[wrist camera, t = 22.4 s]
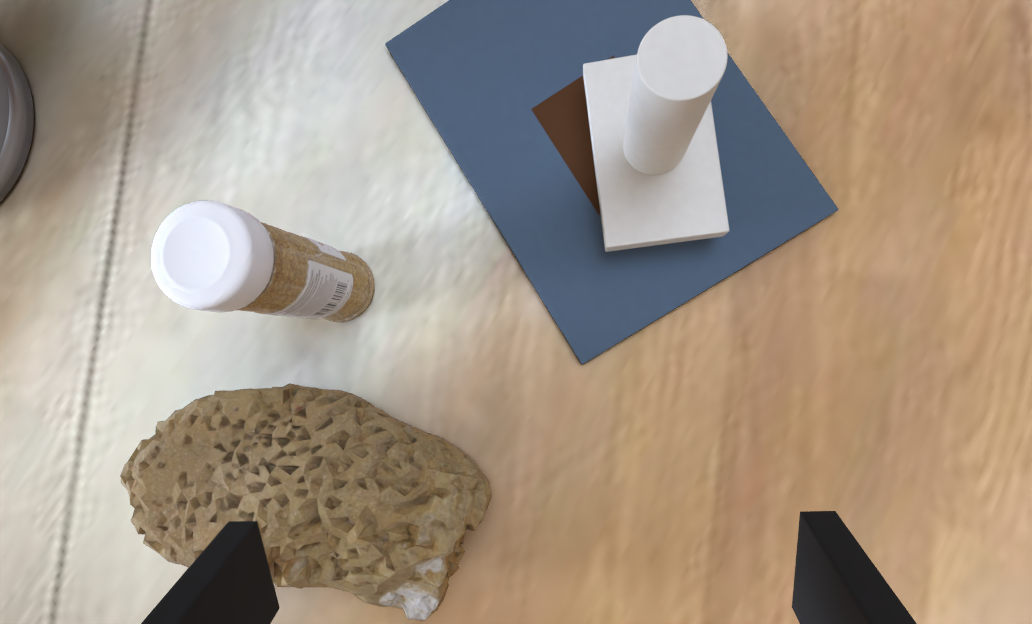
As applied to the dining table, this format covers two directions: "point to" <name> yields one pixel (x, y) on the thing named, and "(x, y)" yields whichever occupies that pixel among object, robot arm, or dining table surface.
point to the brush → (659, 137)
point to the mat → (591, 156)
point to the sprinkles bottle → (254, 267)
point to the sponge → (311, 492)
